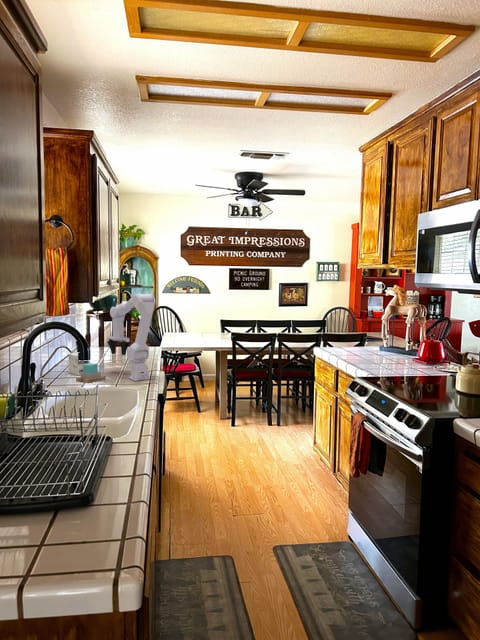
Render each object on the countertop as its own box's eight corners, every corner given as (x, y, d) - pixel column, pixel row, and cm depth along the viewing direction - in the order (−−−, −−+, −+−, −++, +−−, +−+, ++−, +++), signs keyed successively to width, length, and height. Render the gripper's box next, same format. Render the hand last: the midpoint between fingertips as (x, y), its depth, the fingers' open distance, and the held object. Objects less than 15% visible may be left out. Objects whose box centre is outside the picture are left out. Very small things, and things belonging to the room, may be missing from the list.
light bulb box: (89, 373, 258) (89, 354, 257) (78, 375, 254) (77, 355, 253) (79, 371, 266) (79, 351, 265) (68, 373, 261) (67, 353, 260)
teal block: (97, 371, 242) (97, 363, 242) (91, 373, 237) (91, 365, 237) (89, 371, 244) (89, 363, 243) (83, 372, 239) (82, 364, 239)
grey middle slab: (100, 376, 242) (100, 371, 242) (89, 379, 236) (89, 374, 236) (92, 375, 246) (92, 370, 246) (80, 377, 240) (80, 372, 240)
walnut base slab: (105, 381, 243) (105, 376, 243) (89, 384, 235) (89, 379, 234) (91, 379, 248) (91, 374, 248) (76, 382, 240) (76, 377, 240)
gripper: (133, 329, 257) (133, 354, 258) (114, 327, 265) (114, 352, 266) (123, 330, 251) (124, 356, 252) (104, 328, 259) (104, 354, 260)
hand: (118, 354), depth 259 cm, fingers open, 7 cm apart
